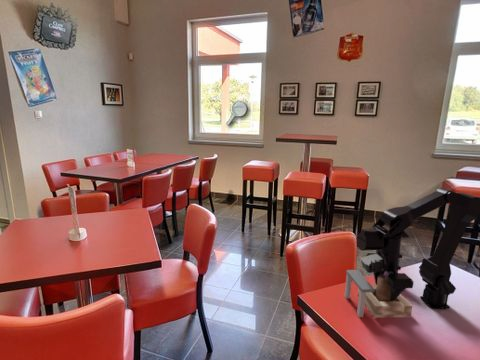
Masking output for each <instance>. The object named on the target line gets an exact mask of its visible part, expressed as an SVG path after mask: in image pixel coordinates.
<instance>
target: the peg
mask: <svg viewBox="0 0 480 360" xmlns="http://www.w3.org/2000/svg"><path fill="white" fill-rule="evenodd" d="M387 277H388V276H387V275H379V276H378V280H377V287H376V295H375V297H376V298H377V299H378V301H379V302H384V301H391V300H390V286H389V285H388V284H387V282H388V280H387Z"/></svg>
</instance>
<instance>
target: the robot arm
mask: <svg viewBox="0 0 480 360" xmlns="http://www.w3.org/2000/svg"><path fill="white" fill-rule="evenodd" d="M447 204H449V207H448V211H449V216H450V217H449V220H448V222H447V224H446V226H445V228H444V231H443V233H442V235H441V237H440V239H439V242H438V244H437V246H436V249H435V250H434V253H433V255H432V256H430V257H428V258H426V257H424V258H423V259H422V260H421V264H420V265H419V267H418V268H419V269H418V270H419V271H418V272H419V275H420V277H421V280H422V282H425V285H424V289H423V293H422V295H421V296H419V299H421V300H422V301H423V302H424V303H425V304H426V305H427V306H429V308H430V309H434V310H437V309H439V310H440V309H441V310H442V309H446V310H447V309H451V306H450V305H449V304H448V300H449V299H448V298H449V296H450V295H452V294H454V293H455V292H456V289H457V287H456V286H455V285H454V284H453V282H451V281H450V279H451V275H452V270H451V261H452V259H453V257H454V255H455V253H456V251H457V249H458V246H459V245H460V242H461V240H462V238H463V236H464V234H465V232H466V230H467V227H468V226H469V224H470V223H471V222H473V221H475V220H476V219H478V217H480V197H479V196H476V195H473V194H470V193H466V192H455V191H454V190H453V189H447V188H445V187H444V188H443V187H440V188H438V189H436V190H435V191H434V192H431V193H429V194H427V195H425V196H423V197H422V198H420V199H417V200H415V201H413V202H411V203H408V204H407V205H405V206H396V207H392V208H389V209H385V210H384V211H383V212H382V213H381V216H380V217H379V218H378V219H377V221H376V222H375V223H374V224H373V225H372V226H371V228H372V229H368V228H361V231H360V232H359V233H358V234H357V236H356V244H357V247H358V249H359V250H360V251H363V252H364V251H365V252H366V251H375V252H368V253H367V254H366V255H365V256H363V257H361V258H360V261H361V265H362V268H363V269H364V270H365V271H366V273H369V274H372V273H373V278H374V283H375V285H377V280H378V276H379V275H384V273H385V271H386V272H387V273H388V274H389V275H388V277H387V280H388V282H387V284H388V285H389V286H390V300H391V301H394V300H395V299H396V298H397V297H398V296H399V295H400V294H401V295H402V293H403V292H404V291H405V290H406V289H413V288H414V281H413V279H412V278H411V277H409V275H407V274H406V273H405V272H402V273H401V272H398V273H397V272H396V270H398V271H401V270H402V269H401V268H402V267H401V266H400V264H399V265H398V262H399V263H400V261H399V258H400V259H403V254H402V253H401V252H400V247H401V248H402V246H401V245H402V238H404V239H405V238H409V236H410V235H409V234H407V232H406V230H407V229H408V228H410V227H411V226H412V225H413V223H414V221H416V220H417V219H419V218H420V217H423V216H425V215H427V214H429V213H431V212H433V211H435V210H437V209H439V208H441V207H443V206H445V205H447ZM385 227H386V228H385Z"/></svg>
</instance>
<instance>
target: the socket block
mask: <svg viewBox="0 0 480 360" xmlns="http://www.w3.org/2000/svg"><path fill="white" fill-rule="evenodd" d="M370 285H371V286H372V287H373V288H374V289H375V291H374V292H366V296H365V305H364V307H366V309H367V310H368V311H369V312H370V314H371V315H372V317H373V318H374V319H375V318H377V319H380V318H381V319H386V318H411V317H412V312H413V305H412V304H411V303H410V301H408V300H407V299H406V298H405V297H404V296H403V295H402V293H401V294H400V295H399V296H398V297H397V298H396V299H395V300H394V301H384V302H379V301H378V299H377V298H376V297H375V295H376V287H377V285H376V284H375V285H372V284H370ZM359 290H360V289H359V288H358V287H357V298H359Z"/></svg>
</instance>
